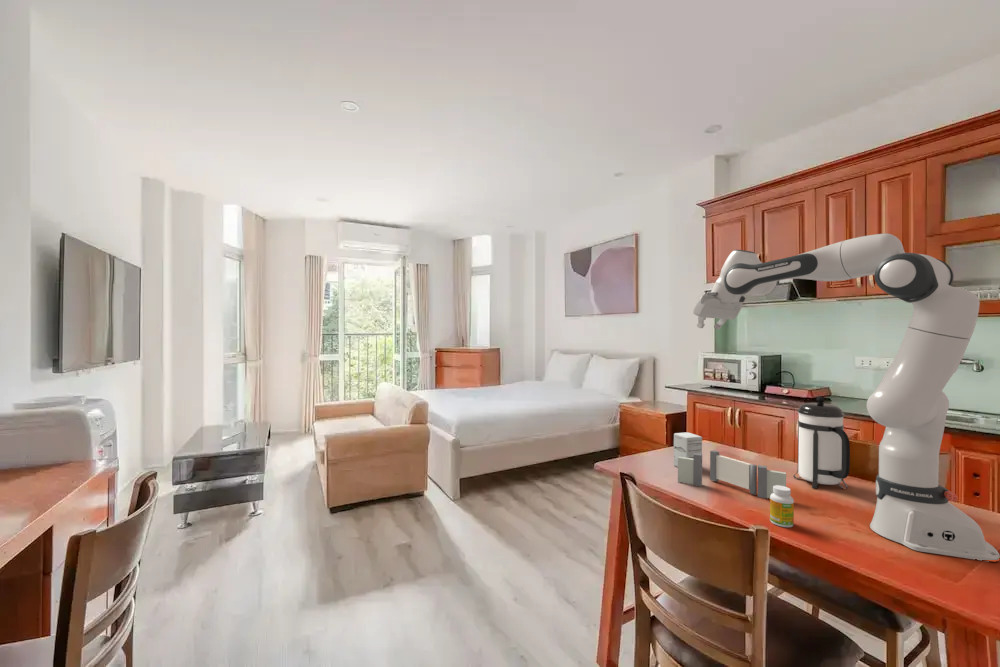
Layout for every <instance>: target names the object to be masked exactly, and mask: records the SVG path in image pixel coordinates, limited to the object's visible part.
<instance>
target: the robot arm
mask: <svg viewBox="0 0 1000 667" xmlns="http://www.w3.org/2000/svg"><path fill="white" fill-rule="evenodd" d="M721 267H722V268H721V269H720V274H719V276H718V278H717V279H716V280H715V282H714V285H713V287H712V289H711V291H707V292H705V293H703V295H701V296H700V298H699V299H698V301H697V303H695V306H694V308H693V310H692V311H693V314H694V315H695V316H697V317H698V318H697V321H698V323H697V324H696V327H697V328H699V329H704V327H705V323H704V322H705V320H706V319H719V320H718V321H717V322H716V323H714V325H713V327H714V329H716V330H720V329H721V328H722V326H724V324H725V323H726V322H727V320H735V319H736V318H737V317H738V315H739V314H740V312H741V310H742V308H743V304H744V303H746V301H747V297H746V296H755V297H758V296H759V297H761V296H762V297H763V296H767V295H768V296H769V295H770V294H771V293H772V292H773V291H775V288H776V287H777V286H778V285H777V284H778V282H779V281H783V280H784V281H785V280H793V279H794V280H795V279H796V280H797V279H798V280H812V281H818V282H839V281H847V280H849V281H850V280H853V279H857V278H863V277H868V276H874V281H875V284H876V286H878V288H879V289H880V290H882V291H883V293H886V294H888V295H889V296H892V297H894V298H897V299H899V300H900V301H904V302H906V303H909V304H912V306H913V312H912V313H913V314H912V316H911V318H910V322H909V324H908V326H907V328H906V331H905V334H904V336H903V338H902V341H901V344H900V346H899V348H898V351H897V353H896V356H895V357H894V359H893V361H892V363H891V364H890V366H888V369H887V370H886V371H885V373H884V375H883V377H882V379H881V380H880V381H879V383H878V385H877V387H876V389H875V390H874V391H873V392H872V394H871V395H870V396H869V397H868V399H867V401H866V410H867V413H868V415H869V416H870V418H872V420H873V421H875V422H876V423H877V424H879V425H881V426H883V427H885V429H884V432H883V437H882V438H881V440H880V443H879V445H878V474H876V479H875V496H876V497H877V498H876V504H875V505H876V506H875V509H874V514H873V517H872V519H871V522H870V524H869V527H870V529H871V530H872V531H873V532H875V533H876V534H878V535H880V536H882V537H883V538H886V539H888V540H890V541H893V542H896V543H899V544H901V545H903V546H905V547H907V548H909V549H911V550H913V551H916V552H922V553H929V554H934V555H943V556H949V557H956V558H962V559H963V558H964V559H969V560H975V559H977V560H978V561H982V560H998V559H999V558H1000V553H999V552H998V550H997V548H995V547H994V546H993V545H992V544H991V543H989V542H987V541H986V539H985V536H984V533H983V530H982V528H981V527H980V525H979V524H978V523H977V522H976V521H975V520H974V519H973V518H972V517H970V516H969V515H967V514H966V513H965V512H964V511H962V510H961V509H959V507H956V506H955V505H954V504H952V503H953V502H957V501H958V499H959V496H958V495H957V494H956V493H955V492H953V491H950V490H949V489H948V488H946V487H944V486H943V485H941V484H939V473H940V472H939V469H940V468H939V467H940V466H939V464H940V460H939V459H940V451H941V445H942V440H943V437H944V433H945V432H944V431H945V427H946V421H947V420H946V419H947V414H948V411H949V408H950V400H949V397H948V396H947V395H946V393H945V392H944V388H945V387H946V385H947V383H948V382H949V381H950V379H951V378H952V377H953V376H954V374H955V373H956V372H957V370H958V368H959V366H960V363H961V362H962V360H963V357H964V355H965V353H966V350H967V347H968V345H969V343H970V342H971V338H972V336H973V335H974V334H973V333H974V331H975V328H976V325H977V321H978V316H979V313H980V312H979V311H980V299H979V297H978V296H977V294H975V293H973V291H972V292H971V291H969V290H968V289H965V288H961V287H958V286H957V287H956V286H952V284H953V282H954V277H955V276H954V272H953V270H952V268H951V267H950V265H949V264H947V263H946V262H945V261H943V260H941V259H938V258H936V257H933V256H932V255H928V254H922V253H915V252H905V249H904V246H903V243H902V241H901V240H900V238H898V237H897V236H895V235H893V234H892V233H877V234H869V235H864V236H857V237H854V238H850V239H846V240H841V241H838V242H835V243H832V244H829V245H825V246H822V247H818V248H816V249H812V250H810V251H807V252H802V253H799V254H796V255H792V256H788V257H784V258H780V259H775V260H771V261H765V262H762V261H761V260H760V258H759V257H758V254H757V253H756V252H753V251H750V250H749V251H748V250H745V249H735V250H732V251H731V252H730V254H729V255H728V256H727V257H726V259H725V261H724V263H723V265H722V266H721ZM745 295H746V296H745ZM951 502H952V503H951ZM977 560H976V561H977Z"/></svg>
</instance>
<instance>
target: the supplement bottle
mask: <svg viewBox="0 0 1000 667" xmlns="http://www.w3.org/2000/svg"><path fill="white" fill-rule="evenodd" d="M773 492H774V493H772V494H771V495H770V499H769V521H770V522H771V524H773V525H776V526H778V527H782V528H792V527H793V526H794V523H795V521H794V520H795V518H794V517H795V512H794V510H795V508H794V507H795V499H794V498H793V497H792V496H791V494H792V493H791V492H792V490H791V488H789V487H787V486H786V487H785V486H780V485H775V486H773Z"/></svg>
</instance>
